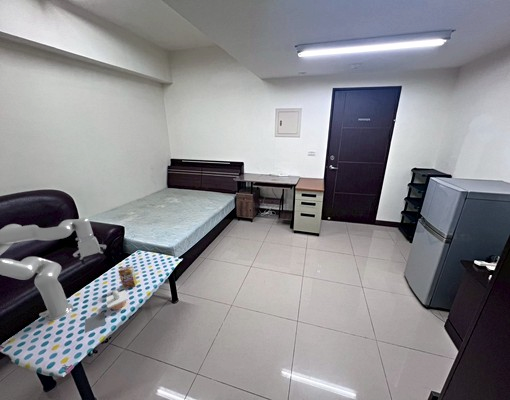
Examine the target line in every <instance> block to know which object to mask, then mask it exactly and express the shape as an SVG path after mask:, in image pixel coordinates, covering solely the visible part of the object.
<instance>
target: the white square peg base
mask: <svg viewBox="0 0 510 400" xmlns="http://www.w3.org/2000/svg"><path fill="white" fill-rule="evenodd" d="M111 293H112V295H108V296H106V305H107V306H106V307H107V309H110V308H111V307H112V306H115V305H117V304H120V303H122V302H124V301H126V302H127V301H128V295H127V291H126V289H124V290H121V291H118V290H113V291H112V292H111Z"/></svg>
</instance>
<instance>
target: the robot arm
mask: <svg viewBox="0 0 510 400" xmlns="http://www.w3.org/2000/svg"><path fill="white" fill-rule="evenodd" d="M74 231H75V232H76V236H77V237H76V238H75V241H78V242H77V245H78V246H77V248H78V250H76V251H75V252H74V253H73V254H72V256H73V257H74V258H75V259H78V260H80V262H81V264H83V266H85V265H86V262H85V257H88V256H91V255H95V254H100V258H101V260H104V257H105V254H104V253H105V251H106V249H107V245H106V244H99V241H98V239H97V237H96V236H94V232H93V229H92V225H91V221H90V219H89V218H87V217H81V218H78V219H75V218H74V219H71V218H70V219H64V220H63V221H61V222H60V223H59V224H58V226H52V227H39V226H38V225H36V224H29V225H28V224H27V225H23V226H22V225H21V224H17V223H10V224H7V225H4V227H2V228H1V229H0V256H2V254H4V253H5V252H6V251H7V250H8V249H9V248H10V247H11V246H12V245H13V244H15V243H22V242H27V241H29V242H30V241H35V240H38V241H55V240H60V239H65V238H67V237H69V236H71V235H72V233H73V232H74ZM78 254H79V255H78ZM61 272H62V266H61V265H60V264H59V263H58V262H56V261H52V260H49V259H46V258H42V257H39V256H27V257H25V258H23V259H22V260H20V261H19V260H15V259H12V258H0V275H1V276H5V277H8V278H13V279H17V280H22V281H25V280H29V279H31V278H33V277H34V275H35V274H36V273H37V275H36V276H35V278H34V285H35V288H37V290H38V291H39V293H40V295H41V297H42V300H43V302H44V305H45V307H46V309H47V310H45V311H43V312H40V313H39V314H38V315H39V317H41V318H45V317H46V319H47V320H48V321H54V320H57V319H61V318H63V317H64V316H66V315H68V314H69V313H70V312H71V311H72V310H73V308H74V307H73V304H72V303H69V302H68V300H67V296H66V293H65V292H64V289H63V287H62V284H61V283H60V282H59V280H58V277H59V275H60V274H61Z"/></svg>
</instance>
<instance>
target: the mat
mask: <svg viewBox="0 0 510 400" xmlns="http://www.w3.org/2000/svg"><path fill="white" fill-rule="evenodd" d="M106 323H107V322H106V312H105V311H102V312H100V313H97V314H94V315H93V316H90V317H88V318H86V319H84V334H87V333H88V332H91V331H93V330H95V329H98V328H100V327H102V326H105V325H106Z"/></svg>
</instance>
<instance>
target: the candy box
mask: <svg viewBox="0 0 510 400" xmlns="http://www.w3.org/2000/svg"><path fill="white" fill-rule="evenodd" d="M118 274H119V279H120V281H121V285H122V288H123V289H124V288H132V287H136V286H137V285H138V280H137V277H136V276H137V275H136V273H135V268H134V266H126V267H120V268H119V269H118Z"/></svg>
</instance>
